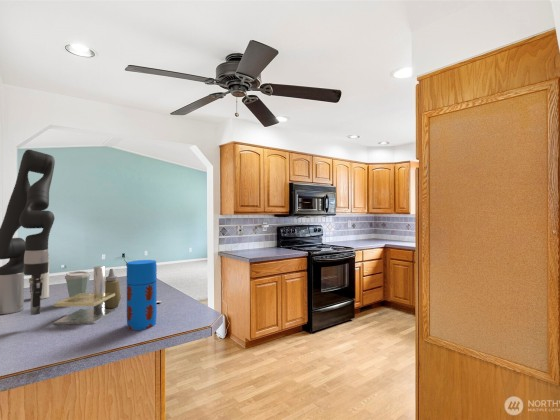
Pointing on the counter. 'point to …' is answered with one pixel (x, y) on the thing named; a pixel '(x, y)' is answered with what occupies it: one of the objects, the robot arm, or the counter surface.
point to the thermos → (141, 294)
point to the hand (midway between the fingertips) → (35, 305)
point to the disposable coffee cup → (77, 282)
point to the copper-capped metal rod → (34, 309)
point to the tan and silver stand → (88, 302)
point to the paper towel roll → (45, 285)
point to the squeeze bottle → (112, 290)
